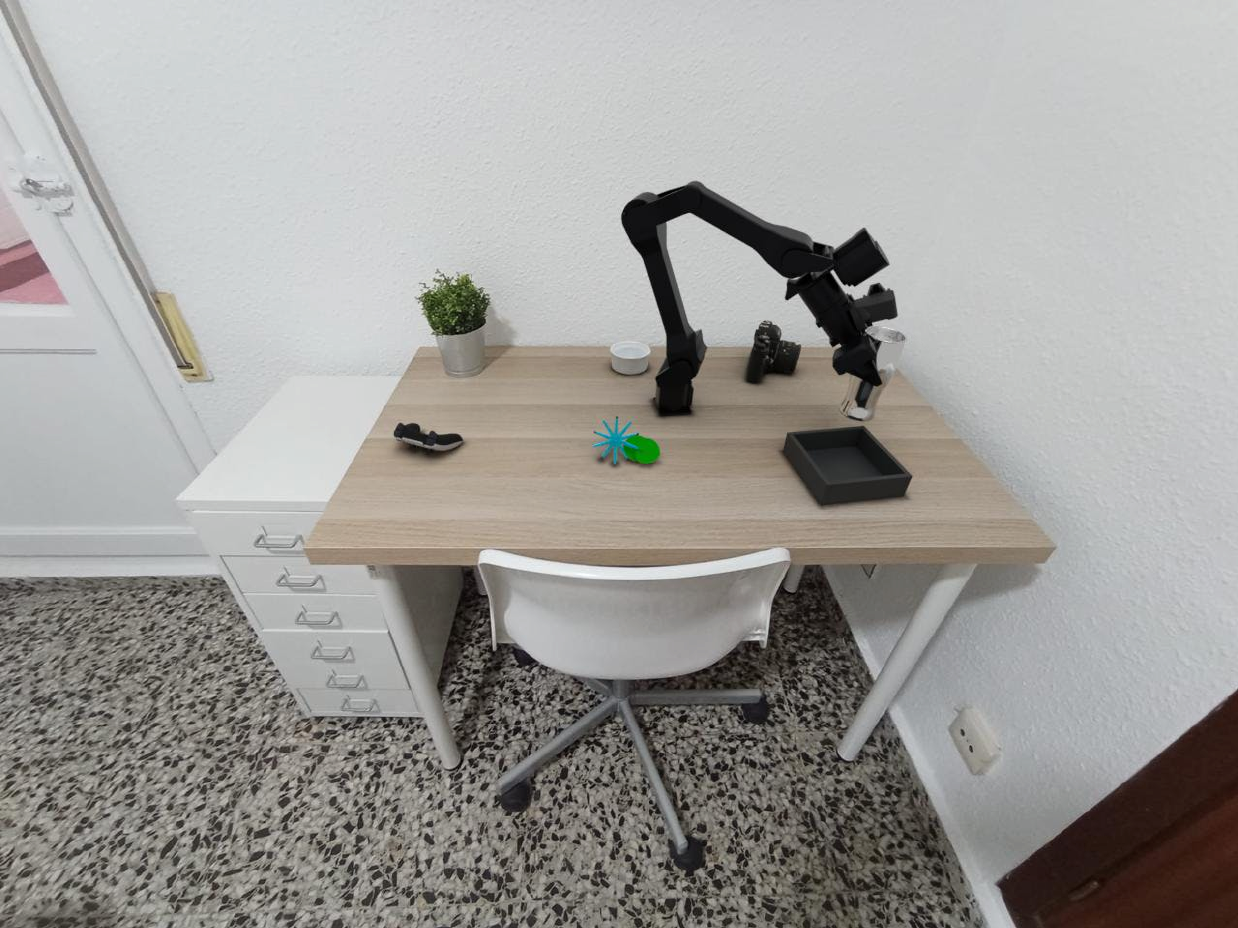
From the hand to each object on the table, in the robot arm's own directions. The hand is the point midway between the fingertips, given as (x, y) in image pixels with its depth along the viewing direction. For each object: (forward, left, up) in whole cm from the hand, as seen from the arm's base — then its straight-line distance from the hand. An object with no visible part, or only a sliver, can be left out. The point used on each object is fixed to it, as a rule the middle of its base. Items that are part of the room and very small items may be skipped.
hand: (878, 375), depth 93 cm
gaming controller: (-77, +9, -13) cm, 79 cm away
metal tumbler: (-1, +1, -8) cm, 8 cm away
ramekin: (-36, +34, -13) cm, 51 cm away
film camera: (-5, +29, -13) cm, 32 cm away
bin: (-8, -9, -13) cm, 18 cm away
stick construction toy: (-43, +2, -13) cm, 45 cm away
